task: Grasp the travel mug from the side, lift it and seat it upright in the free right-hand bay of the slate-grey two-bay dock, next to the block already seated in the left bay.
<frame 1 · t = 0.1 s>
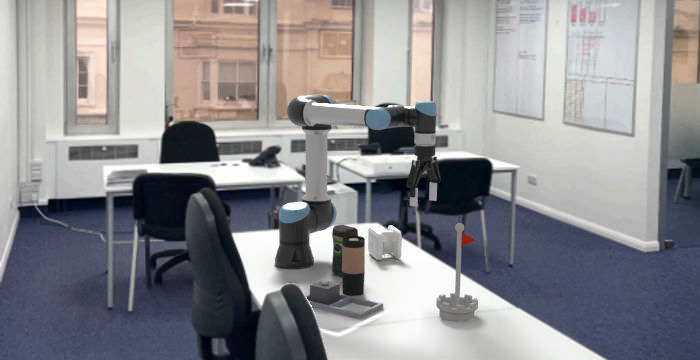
hand: (423, 203, 293), 28 cm above the table, tool pointing down, fingers open, 13 cm apart
coffee jar: (344, 275, 302), on the table
dock: (339, 308, 263), on the table
seated block: (324, 302, 266), resting on dock
flag stand: (456, 316, 258), on the table
travel mug: (353, 296, 277), on the table
cable organizer: (384, 257, 327), on the table
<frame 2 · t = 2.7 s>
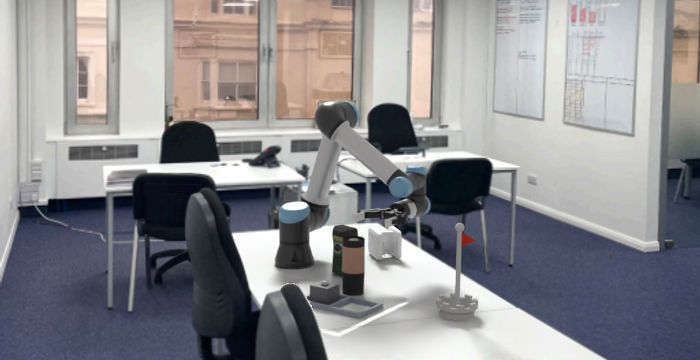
hand: (369, 221, 280), 24 cm above the table, tool horizontal, fingers open, 13 cm apart
nothing on the table moved.
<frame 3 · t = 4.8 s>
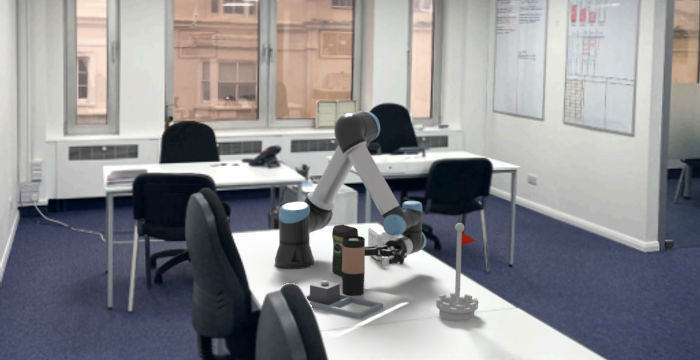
hand: (366, 260, 280), 11 cm above the table, tool horizontal, fingers open, 13 cm apart
nothing on the table moved.
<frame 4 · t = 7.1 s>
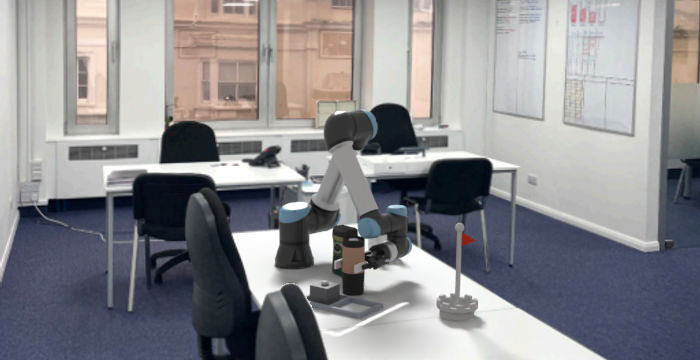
hand: (345, 267, 271), 11 cm above the table, tool horizontal, fingers closed on travel mug, 7 cm apart
travel mug: (353, 296, 277), on the table, touching gripper
everything else where it was.
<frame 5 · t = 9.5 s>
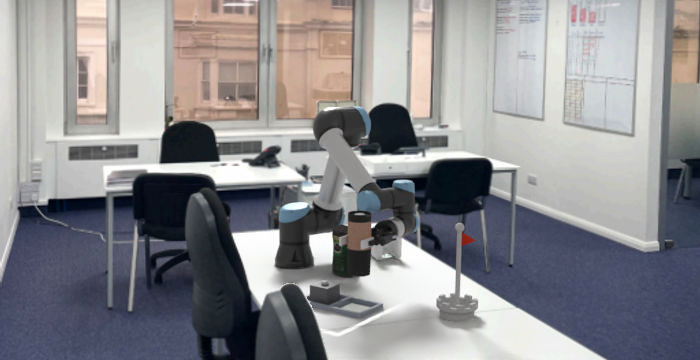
hand: (350, 243, 256), 23 cm above the table, tool horizontal, fingers closed on travel mug, 7 cm apart
travel mug: (359, 274, 262), point 11 cm above the table, touching gripper
everything else where it was.
when the fingers open (13 cm above the table, at t = 11.9 s): travel mug stays where it is, resting on dock.
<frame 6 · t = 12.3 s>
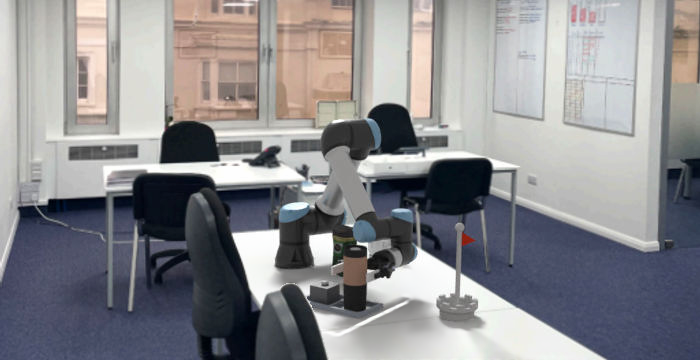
hand: (349, 274, 255), 13 cm above the table, tool horizontal, fingers open, 13 cm apart
travel mug: (354, 309, 259), point 1 cm above the table, touching dock
everything else where it was.
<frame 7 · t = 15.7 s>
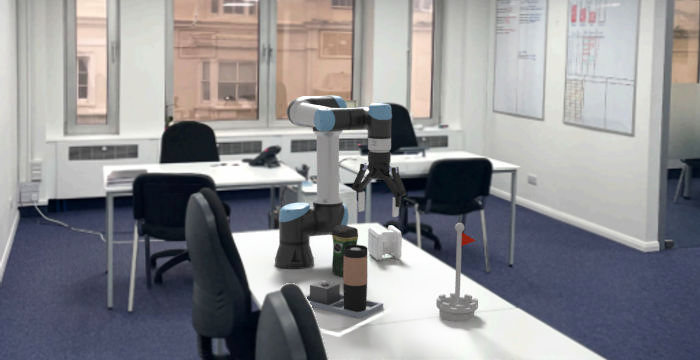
hand: (378, 213, 272), 29 cm above the table, tool pointing down, fingers open, 13 cm apart
nothing on the table moved.
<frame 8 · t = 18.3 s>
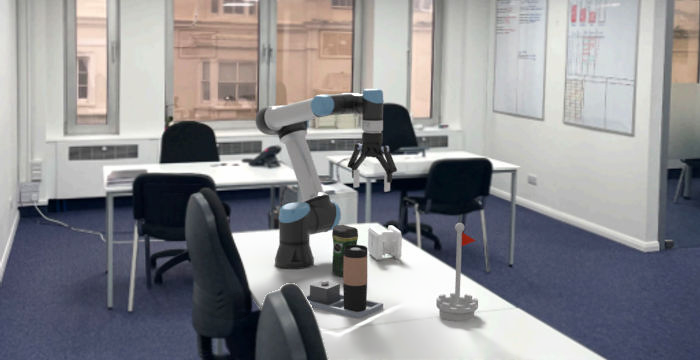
hand: (371, 189, 299), 32 cm above the table, tool pointing down, fingers open, 13 cm apart
nothing on the table moved.
at the end: travel mug inside the target area on the dock (0.1 cm from its centre), point 1.0 cm above the dock's base; travel mug tilted 0°; the gripper is holding nothing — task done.
